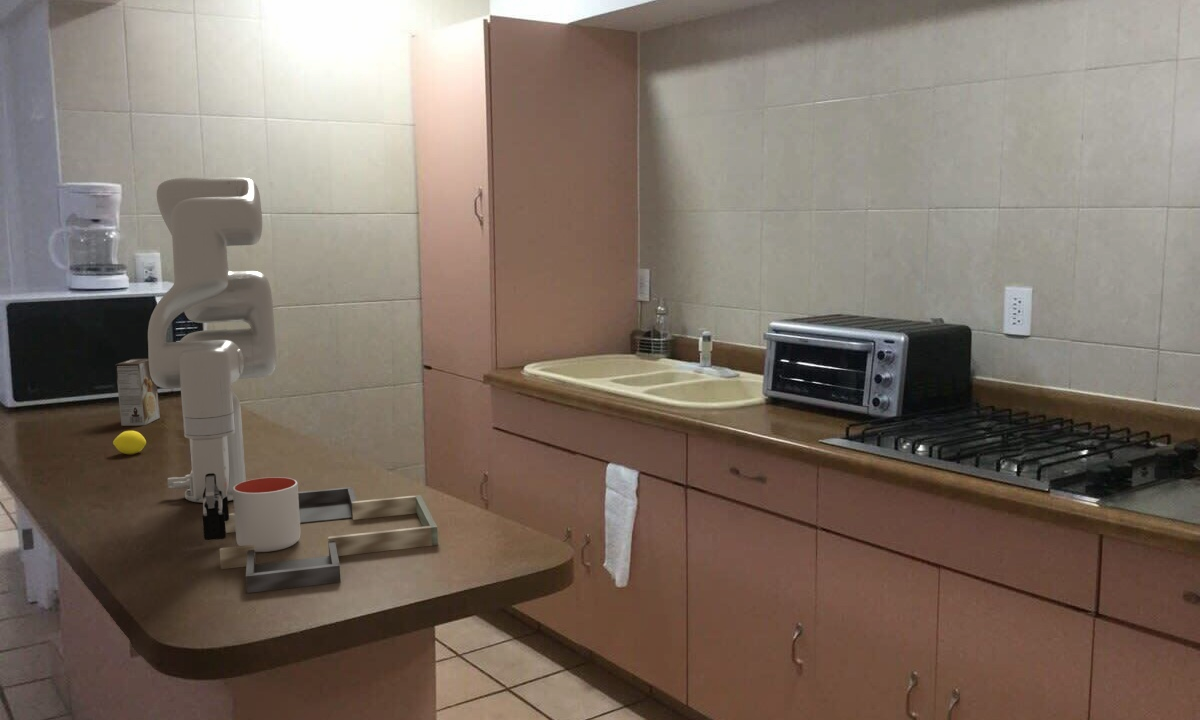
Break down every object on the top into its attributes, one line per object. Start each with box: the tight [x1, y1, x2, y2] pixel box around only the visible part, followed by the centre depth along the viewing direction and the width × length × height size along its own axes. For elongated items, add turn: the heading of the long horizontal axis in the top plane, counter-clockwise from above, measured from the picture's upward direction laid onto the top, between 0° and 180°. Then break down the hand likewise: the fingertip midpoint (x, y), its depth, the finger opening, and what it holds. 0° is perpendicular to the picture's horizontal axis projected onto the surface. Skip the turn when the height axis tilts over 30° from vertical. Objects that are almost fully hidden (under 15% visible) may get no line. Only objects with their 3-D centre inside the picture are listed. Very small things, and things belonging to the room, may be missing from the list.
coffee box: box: [115, 358, 161, 427], centre depth 272 cm, size 9×6×16 cm
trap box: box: [219, 486, 439, 594], centre depth 175 cm, size 33×44×3 cm
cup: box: [232, 476, 302, 553], centre depth 171 cm, size 10×10×10 cm
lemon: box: [112, 430, 147, 455], centre depth 238 cm, size 7×5×5 cm
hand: (217, 529), depth 169 cm, fingers open, 9 cm apart
